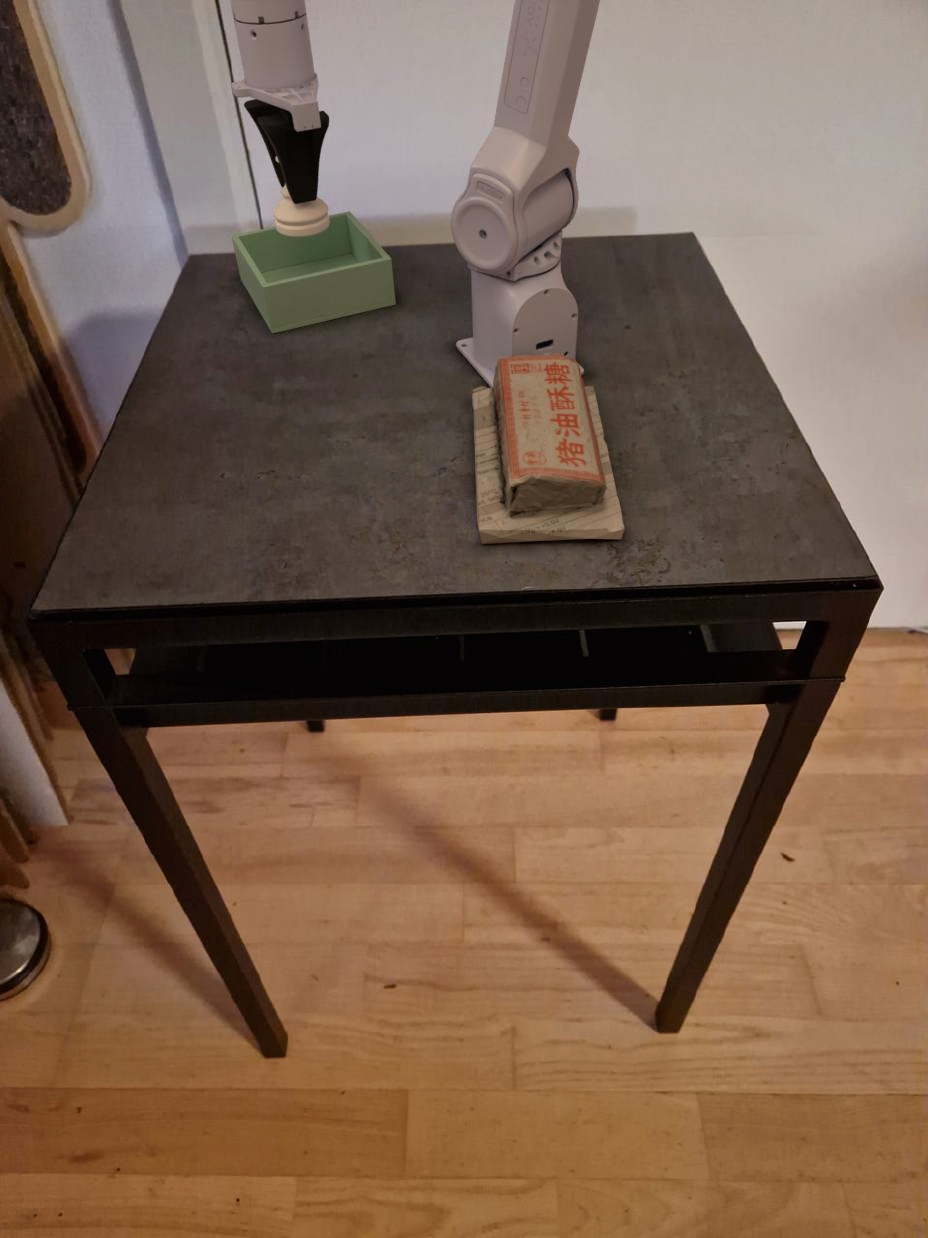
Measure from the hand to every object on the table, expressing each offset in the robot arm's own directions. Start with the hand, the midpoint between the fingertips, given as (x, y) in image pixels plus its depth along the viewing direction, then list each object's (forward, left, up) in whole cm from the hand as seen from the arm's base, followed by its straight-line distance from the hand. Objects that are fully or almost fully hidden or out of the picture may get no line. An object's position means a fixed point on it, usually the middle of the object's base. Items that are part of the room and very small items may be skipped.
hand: (298, 193), depth 80 cm
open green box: (+1, 0, -10) cm, 10 cm away
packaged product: (-34, -7, -10) cm, 36 cm away
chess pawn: (0, 0, -3) cm, 3 cm away
